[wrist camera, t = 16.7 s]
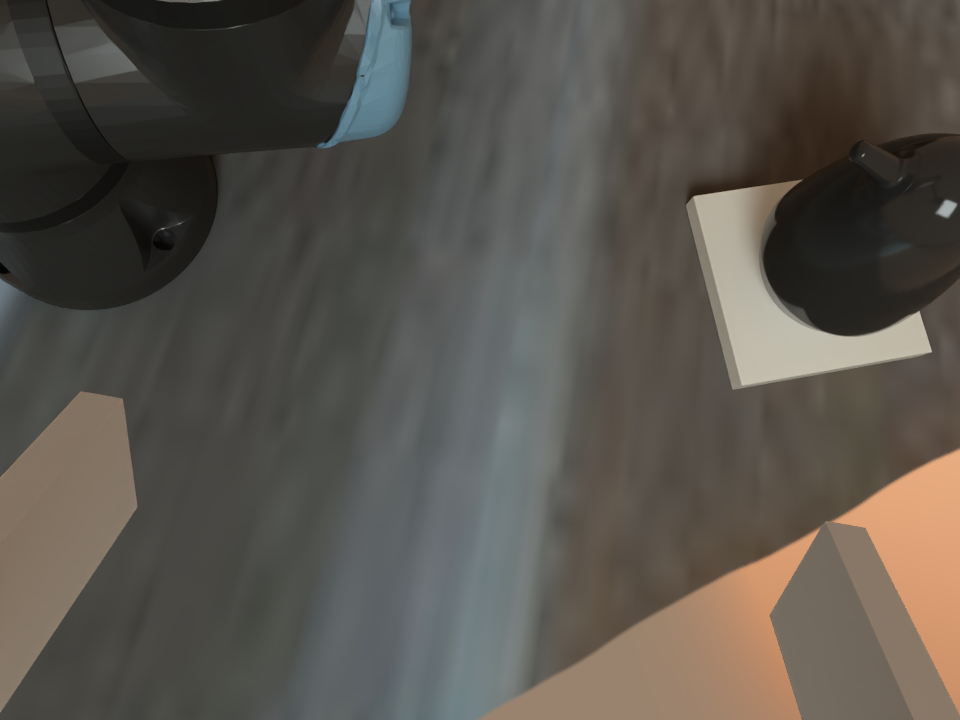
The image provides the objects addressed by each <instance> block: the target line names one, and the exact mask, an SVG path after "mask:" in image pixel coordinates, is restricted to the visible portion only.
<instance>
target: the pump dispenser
mask: <svg viewBox="0 0 960 720" xmlns="http://www.w3.org/2000/svg"><path fill="white" fill-rule="evenodd" d="M759 265H760V272H761V276H762V280H763V283H764V286H765V288H766V290H767V292H768V294H769V296H770V297H771V299H772V300H773V302H774V303H775V304H776V305H777V306H778V308H779V309H780V310H781V311H782V312H783V313H785V314H786V315H787V316H788V317H790V318H791V319H793V320H794V321H796V322H797V323H799V324H801V325H803V326H805V327H808V328H810V329H813V330H816V331H820V332H825V333H828V334H832V335H837V336H844V337H860V336H867V335H872V334H875V333H879V332H881V331H884V330H886V329H889V328H891V327H893V326H895V325H897V324H899V323H901V322H903V321H905V320H906V319H908V318H909V317H911V316H912V315H914V314H915V313H917V312H918V311H920V310H921V309H923V308H924V307H926V306H927V305H929V304H930V303H931V302H933V301H934V300H935V299H937V298H938V297H939V296H940V295H942V294H943V293H944V292H945V291H946V290H947V289H949V288H950V287H951V286H952V285H953V284H954V283H955V282H956V281H957V280H958V279H959V278H960V134H951V133H930V134H920V135H914V136H909V137H904V138H899V139H895V140H892V141H888V142H885V143H882V144H878V145H874V144H872V143H870V142H868V141H866V140H862V141H859V142H857V143H855V144H854V145H853V146H852V148H851V149H850V152H849V155H848V156H846V157H844V158H841V159H839V160H837V161H835V162H833V163H831V164H829V165H827V166H826V167H824V168H822V169H820V170H818V171H817V172H815V173H813V174H812V175H810V176H808V177H807V178H805V179H803V180H802V181H800V182H799V183H798V184H796V185H795V186H794V187H792V188H791V189H790V190H789V191H788V192H787V193H785V194H784V195H783V196H782V197H781V198H780V199H779V201H778V202H777V203H776V204H775V205H774V207H773V208H772V210H771V211H770V213H769V215H768V217H767V219H766V222H765V224H764V228H763V232H762V237H761V246H760V253H759Z"/></svg>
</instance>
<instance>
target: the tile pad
mask: <svg viewBox="0 0 960 720" xmlns="http://www.w3.org/2000/svg"><path fill="white" fill-rule="evenodd" d="M800 181H802V180H797V181H790V182H784V183H777V184H771V185H764V186H757V187H751V188H744V189H738V190H731V191H724V192H718V193H711V194H705V195H698V196H693V197H692V198H691V200H690V201H689V202H688V203H687V205H686V208H687V212H688V216H689V220H690V224H691V228H692V232H693V236H694V240H695V244H696V248H697V252H698V256H699V260H700V264H701V268H702V271H703V275H704V279H705V283H706V287H707V291H708V295H709V299H710V303H711V307H712V311H713V315H714V319H715V323H716V327H717V331H718V335H719V339H720V342H721V346H722V350H723V354H724V358H725V362H726V366H727V370H728V374H729V378H730V382H731V386H732V390H734V389H739V388H745V387H751V386H756V385H762V384H767V383H773V382H779V381H784V380H790V379H795V378H801V377H807V376H812V375H818V374H823V373H829V372H835V371H840V370H846V369H852V368H857V367H863V366H868V365H874V364H880V363H885V362H891V361H896V360H902V359H908V358H913V357H918V356H921V355H924V354H927V353H930V352H932V351H931V347H930V344H929V341H928V338H927V334H926V331H925V328H924V325H923V322H922V318H921V315H920V312H919V311H918V312H917V313H915V314H914V315H912V316H911V317H909V318H908V319H906V320H905V321H903V322H901V323H899V324H897V325H895V326H893V327H891V328H889V329H886V330H884V331H881V332H879V333H875V334H872V335H867V336H860V337H844V336H837V335H832V334H828V333H825V332H820V331H816V330H813V329H810V328H808V327H805V326H803V325H801V324H799V323H797V322H796V321H794V320H793V319H791V318H790V317H788V316H787V315H786V314H785V313H783V312H782V311H781V310H780V309H779V308H778V306H777V305H776V304H775V303H774V302H773V300H772V299H771V297H770V296H769V294H768V292H767V290H766V288H765V286H764V283H763V280H762V276H761V272H760V265H759V253H760V246H761V237H762V232H763V228H764V224H765V222H766V219H767V217H768V215H769V213H770V211H771V210H772V208H773V207H774V205H775V204H776V203H777V202H778V201H779V199H780V198H781V197H782V196H783V195H784V194H785V193H787V192H788V191H789V190H790V189H791V188H792V187H794V186H795V185H796V184H798V183H799V182H800Z"/></svg>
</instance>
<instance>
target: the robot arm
mask: <svg viewBox="0 0 960 720" xmlns="http://www.w3.org/2000/svg"><path fill="white" fill-rule="evenodd" d="M410 5H411V0H0V278H1V279H2V280H3V281H5V282H6V283H8V284H10V285H11V286H13V287H15V288H17V289H18V290H20V291H22V292H24V293H26V294H28V295H30V296H32V297H34V298H36V299H38V300H40V301H43V302H45V303H48V304H51V305H55V306H59V307H63V308H69V309H79V310H97V309H107V308H112V307H118V306H122V305H125V304H129V303H132V302H135V301H137V300H140V299H142V298H144V297H146V296H148V295H150V294H152V293H154V292H156V291H158V290H159V289H161V288H162V287H164V286H165V285H167V284H168V283H170V282H171V281H172V280H173V279H175V278H176V277H177V276H178V275H179V274H180V273H181V272H182V271H183V270H184V269H185V268H186V267H187V266H188V265H189V264H190V263H191V261H192V260H193V259H194V258H195V256H196V255H197V254H198V252H199V251H200V249H201V247H202V246H203V244H204V242H205V240H206V238H207V236H208V234H209V231H210V229H211V226H212V223H213V219H214V215H215V210H216V203H217V183H216V176H215V171H214V167H213V164H212V161H211V158H210V156H209V155H214V154H227V153H239V152H252V151H265V150H277V149H290V148H303V147H316V148H328V147H332V146H334V145H336V144H337V143H338V142H343V141H350V140H357V139H363V138H370V137H375V136H379V135H381V134H384V133H385V132H387V131H388V130H390V129H391V128H392V127H393V126H394V125H395V124H396V123H397V121H398V120H399V118H400V116H401V114H402V112H403V109H404V106H405V103H406V98H407V93H408V86H409V79H410V67H411V51H412V23H411V15H410V12H409V8H410ZM136 508H137V500H136V493H135V486H134V478H133V471H132V463H131V456H130V448H129V441H128V434H127V426H126V419H125V411H124V404H123V399H122V398H116V397H111V396H105V395H99V394H93V393H88V392H82V391H81V392H80V393H79V394H78V395H77V396H76V397H75V398H74V399H73V400H72V401H71V402H70V403H69V405H68V406H67V407H66V408H65V409H64V410H63V411H62V412H61V413H60V414H59V415H58V416H57V417H56V418H55V419H54V421H53V422H52V423H51V424H50V425H49V426H48V427H47V428H46V429H45V430H44V431H43V432H42V433H41V434H40V435H39V437H38V438H37V439H36V440H35V441H34V442H33V443H32V444H31V445H30V446H29V447H28V448H27V449H26V450H25V452H24V453H23V454H22V455H21V456H20V457H19V458H18V459H17V460H16V461H15V462H14V463H13V464H12V465H11V466H10V468H9V469H8V470H7V471H6V472H5V473H4V474H3V475H2V476H1V477H0V712H1V711H2V709H3V708H4V706H5V705H6V703H7V702H8V700H9V699H10V697H11V696H12V694H13V693H14V691H15V690H16V688H17V687H18V685H19V684H20V682H21V681H22V679H23V678H24V676H25V675H26V673H27V672H28V670H29V669H30V667H31V666H32V664H33V663H34V661H35V660H36V658H37V657H38V655H39V654H40V652H41V651H42V649H43V648H44V646H45V645H46V643H47V642H48V640H49V639H50V637H51V636H52V634H53V633H54V631H55V630H56V628H57V627H58V625H59V624H60V622H61V621H62V619H63V618H64V616H65V615H66V613H67V612H68V610H69V609H70V607H71V606H72V604H73V603H74V601H75V600H76V598H77V597H78V595H79V594H80V592H81V591H82V589H83V588H84V586H85V585H86V583H87V582H88V580H89V579H90V577H91V576H92V574H93V573H94V571H95V570H96V568H97V567H98V565H99V564H100V562H101V561H102V559H103V558H104V556H105V555H106V553H107V552H108V550H109V549H110V547H111V546H112V544H113V543H114V541H115V540H116V538H117V537H118V535H119V534H120V532H121V531H122V529H123V528H124V526H125V525H126V523H127V522H128V520H129V519H130V517H131V516H132V514H133V513H134V511H135V510H136ZM770 618H771V621H772V624H773V627H774V631H775V634H776V637H777V640H778V644H779V647H780V650H781V653H782V656H783V659H784V663H785V666H786V669H787V673H788V676H789V679H790V682H791V685H792V689H793V692H794V695H795V698H796V702H797V705H798V708H799V711H800V714H801V718H802V720H960V715H959V713H958V711H957V709H956V707H955V705H954V703H953V701H952V699H951V697H950V695H949V693H948V691H947V689H946V688H945V685H944V683H943V681H942V679H941V677H940V675H939V673H938V672H937V669H936V667H935V666H934V664H933V661H932V659H931V658H930V656H929V654H928V652H927V650H926V648H925V646H924V644H923V642H922V640H921V638H920V636H919V634H918V632H917V630H916V628H915V626H914V624H913V622H912V620H911V618H910V616H909V614H908V612H907V610H906V608H905V606H904V604H903V602H902V600H901V598H900V596H899V594H898V592H897V590H896V588H895V586H894V584H893V582H892V580H891V578H890V576H889V574H888V572H887V570H886V568H885V566H884V564H883V562H882V560H881V558H880V556H879V554H878V553H877V550H876V548H875V546H874V544H873V542H872V541H871V538H870V536H869V535H868V532H867V531H866V529H865V528H863V527H857V526H851V525H845V524H840V523H834V522H828V521H825V522H824V524H823V525H822V527H821V529H820V531H819V532H818V534H817V536H816V538H815V539H814V541H813V542H812V544H811V546H810V548H809V549H808V551H807V553H806V554H805V556H804V558H803V560H802V561H801V563H800V565H799V566H798V568H797V570H796V571H795V573H794V575H793V576H792V578H791V580H790V582H789V583H788V585H787V587H786V588H785V590H784V592H783V594H782V595H781V597H780V598H779V600H778V602H777V604H776V605H775V607H774V609H773V611H772V612H771V614H770Z"/></svg>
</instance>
